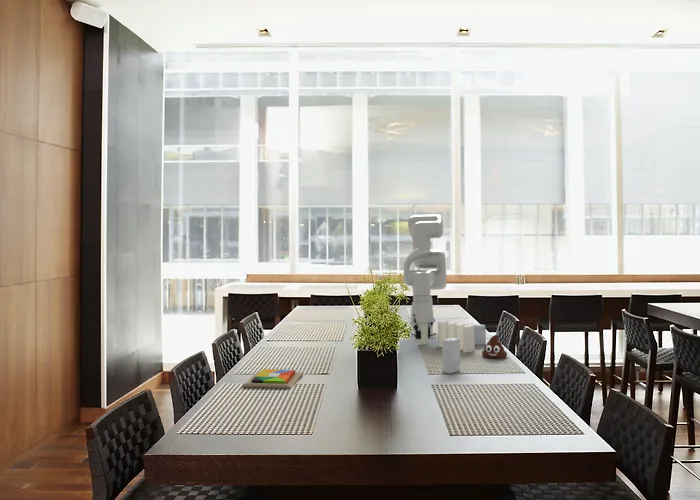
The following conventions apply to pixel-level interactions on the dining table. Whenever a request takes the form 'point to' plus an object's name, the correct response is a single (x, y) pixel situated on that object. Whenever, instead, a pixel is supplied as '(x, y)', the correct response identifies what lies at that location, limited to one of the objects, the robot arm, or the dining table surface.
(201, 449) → the dining table surface
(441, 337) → the domino
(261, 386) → the wooden puzzle
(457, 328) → the domino
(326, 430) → the dining table surface
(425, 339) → the domino
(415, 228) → the robot arm
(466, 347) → the domino
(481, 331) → the medicine box
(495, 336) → the poop emoji
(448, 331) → the domino
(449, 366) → the skincare box
